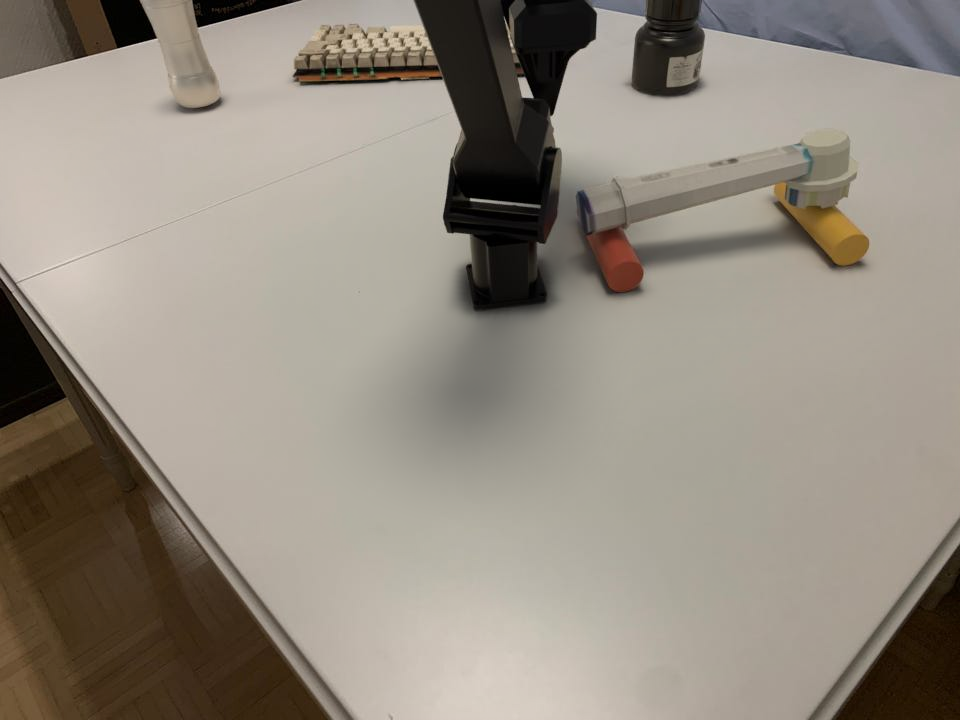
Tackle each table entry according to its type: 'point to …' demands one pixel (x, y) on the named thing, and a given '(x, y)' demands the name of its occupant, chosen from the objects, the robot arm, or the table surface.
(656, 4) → the ink bottle
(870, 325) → the table surface
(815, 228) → the rod yellow
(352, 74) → the mechanical keyboard
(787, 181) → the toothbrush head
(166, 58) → the plastic bottle
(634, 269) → the rod red
